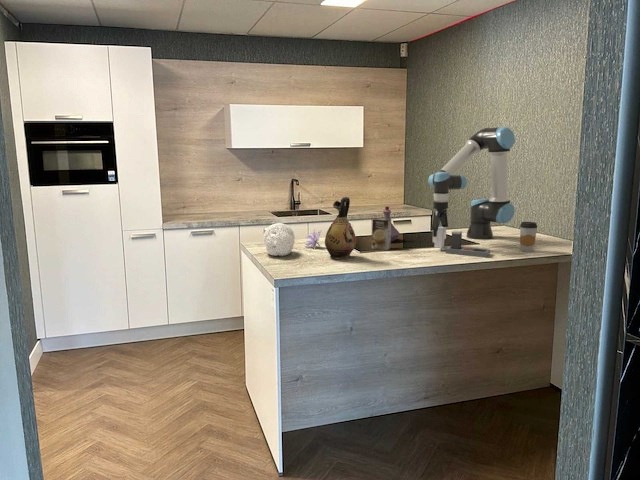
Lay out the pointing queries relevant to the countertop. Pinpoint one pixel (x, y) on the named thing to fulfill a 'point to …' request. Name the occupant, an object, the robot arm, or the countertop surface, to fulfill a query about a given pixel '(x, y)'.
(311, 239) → the water lily
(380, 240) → the coffee box
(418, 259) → the countertop surface
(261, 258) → the countertop surface
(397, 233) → the flask
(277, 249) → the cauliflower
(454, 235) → the twin plug
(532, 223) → the coffee cup
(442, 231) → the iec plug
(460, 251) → the pdu strip
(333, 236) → the ceramic jug
